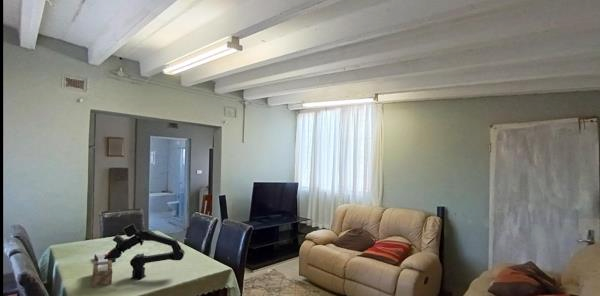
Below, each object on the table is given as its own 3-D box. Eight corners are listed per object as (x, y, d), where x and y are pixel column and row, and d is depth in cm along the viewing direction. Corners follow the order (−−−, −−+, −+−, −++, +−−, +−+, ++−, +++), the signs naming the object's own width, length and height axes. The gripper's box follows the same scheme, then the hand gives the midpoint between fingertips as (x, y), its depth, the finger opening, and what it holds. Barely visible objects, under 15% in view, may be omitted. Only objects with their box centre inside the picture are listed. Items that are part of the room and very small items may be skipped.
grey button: (107, 263, 212) (107, 258, 212) (107, 266, 207) (107, 261, 207) (97, 264, 209) (98, 259, 209) (97, 267, 205) (98, 262, 205)
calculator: (98, 260, 228) (94, 253, 239) (97, 266, 228) (94, 259, 239) (116, 257, 235) (111, 250, 246) (115, 263, 235) (111, 256, 247)
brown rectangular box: (110, 272, 215) (111, 259, 216) (111, 284, 196) (112, 270, 197) (92, 274, 210) (93, 261, 210) (91, 287, 191) (92, 273, 192)
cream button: (107, 269, 202) (107, 264, 202) (107, 271, 198) (107, 266, 198) (97, 270, 200) (97, 265, 200) (97, 273, 195) (97, 268, 195)
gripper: (127, 228, 216) (103, 241, 212) (120, 236, 198) (94, 250, 194) (135, 242, 217) (112, 255, 213) (130, 251, 200) (104, 265, 195)
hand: (106, 256), depth 204 cm, fingers open, 9 cm apart
